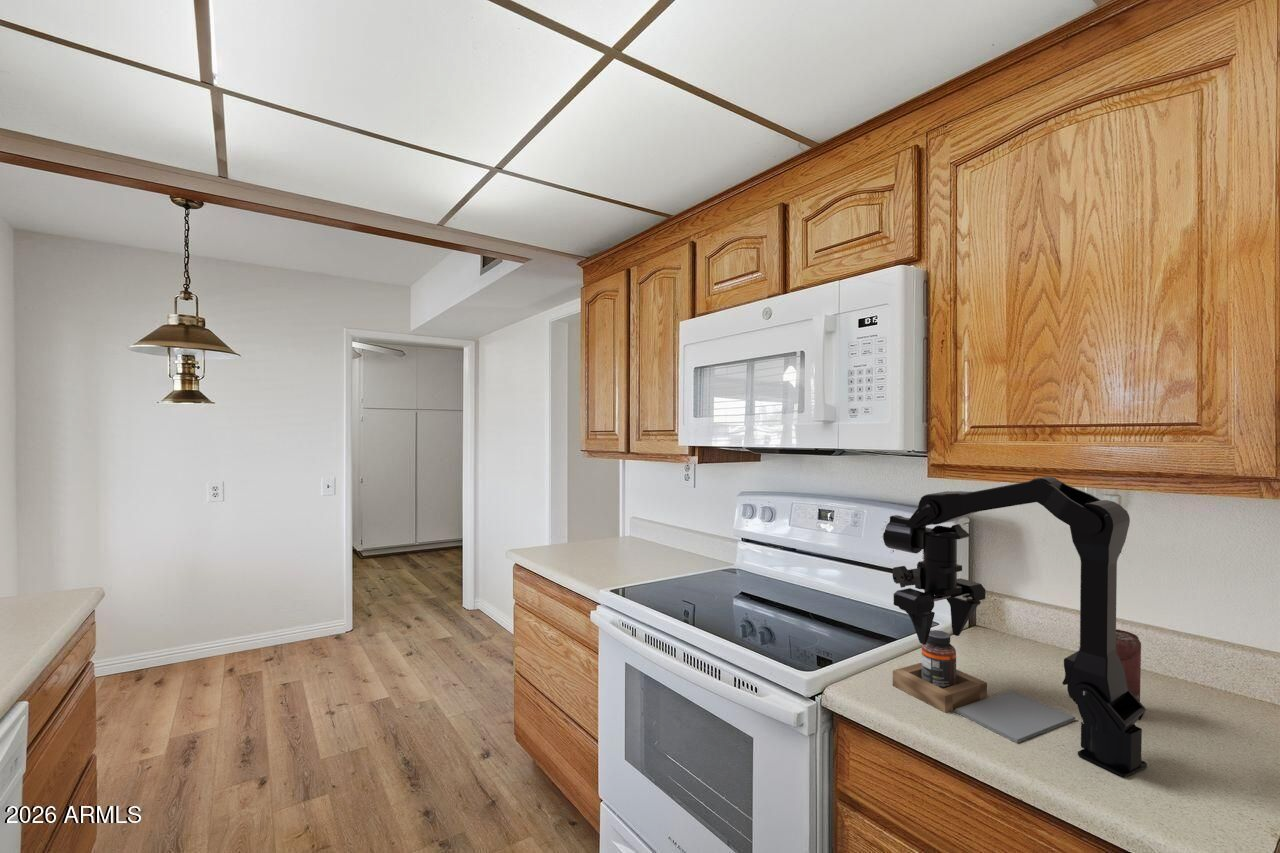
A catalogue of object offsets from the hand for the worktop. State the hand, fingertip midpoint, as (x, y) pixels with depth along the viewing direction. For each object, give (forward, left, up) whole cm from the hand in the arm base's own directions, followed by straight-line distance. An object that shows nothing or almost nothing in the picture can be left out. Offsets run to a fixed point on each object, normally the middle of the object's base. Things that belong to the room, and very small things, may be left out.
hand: (939, 639), depth 114 cm
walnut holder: (0, 0, -10) cm, 10 cm away
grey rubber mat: (-12, -4, -10) cm, 16 cm away
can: (-19, -22, -10) cm, 31 cm away
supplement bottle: (0, 0, -10) cm, 10 cm away
